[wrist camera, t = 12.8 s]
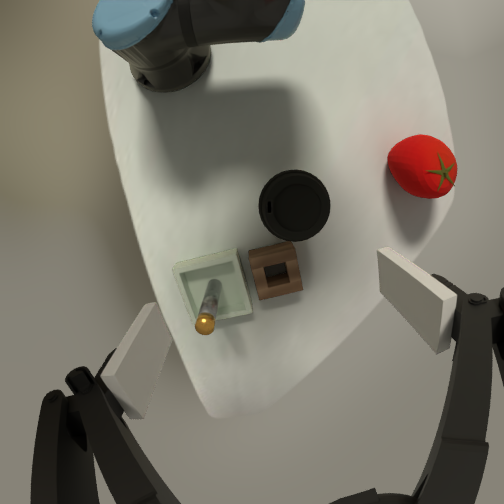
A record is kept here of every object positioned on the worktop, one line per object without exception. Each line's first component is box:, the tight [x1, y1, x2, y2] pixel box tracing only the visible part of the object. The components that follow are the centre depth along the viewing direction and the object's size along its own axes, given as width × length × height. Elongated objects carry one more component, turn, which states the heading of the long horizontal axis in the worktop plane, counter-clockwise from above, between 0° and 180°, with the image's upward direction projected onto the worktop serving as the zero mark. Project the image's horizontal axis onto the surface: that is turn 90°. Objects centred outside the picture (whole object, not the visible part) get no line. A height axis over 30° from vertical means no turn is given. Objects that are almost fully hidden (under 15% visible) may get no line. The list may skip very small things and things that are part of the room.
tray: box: [172, 248, 253, 325], centre depth 53 cm, size 12×12×4 cm
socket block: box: [249, 241, 303, 300], centre depth 52 cm, size 8×8×5 cm
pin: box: [195, 279, 222, 335], centre depth 47 cm, size 3×3×15 cm
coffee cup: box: [259, 170, 330, 242], centre depth 43 cm, size 10×10×15 cm
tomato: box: [387, 134, 457, 199], centre depth 42 cm, size 13×11×14 cm
